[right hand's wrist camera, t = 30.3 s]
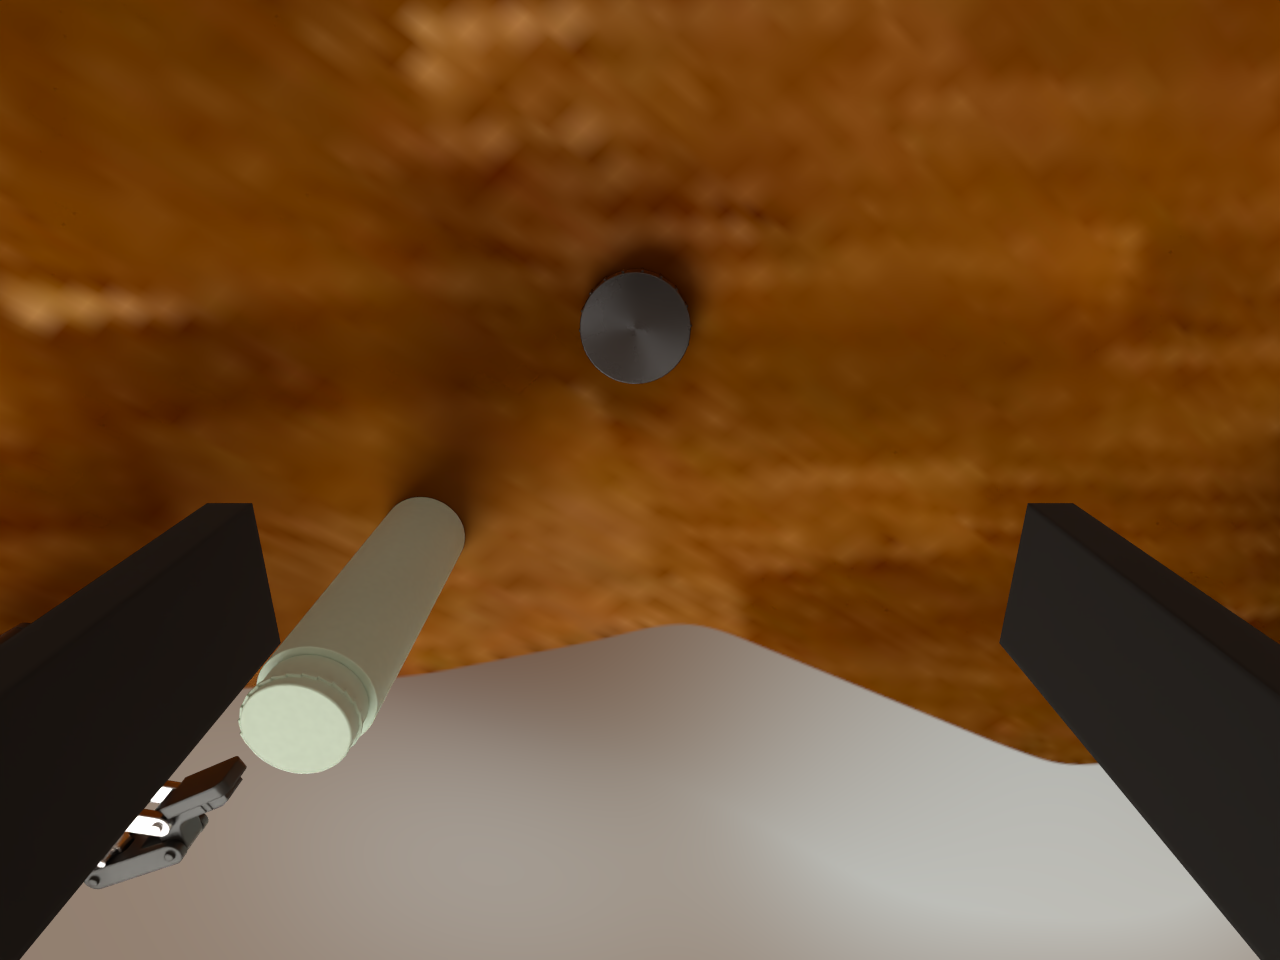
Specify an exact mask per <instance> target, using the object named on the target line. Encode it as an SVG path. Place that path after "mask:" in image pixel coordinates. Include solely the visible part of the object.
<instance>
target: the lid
mask: <svg viewBox="0 0 1280 960" xmlns="http://www.w3.org/2000/svg"><path fill="white" fill-rule="evenodd" d="M589 294H590V296H589V298H588V300H587V302H586V304H585V306H583V308H582V310H581V312H582V315H581V321H580V329H579V332H580V335H581V340H582V344H583V347H584V350H585V352H586V354H587V356H588V358H589V359H590V360H591V362H592V363H593V364H594V366H595V367H596V368H597V369H599V370H600V371H601V372H602V373H603V374H605V375H607V376H608V377H610V378H612V379H614V380H617V381H620V382H624V383H631V384H640V383H647V382H651V381H654V380H657V379H659V378H661V377H663V376H664V375H666V374H667V373H669V372H670V371H671V370H672V369H673V368H674V367H675V366H676V365H677V364H678V363H679V362H680V360H681V359H682V357H683V355H684V353H685V351H686V349H687V346H688V345H689V339H690V330H691V328H690V327H692V325H691V322H690V318H689V313H688V310H687V307H688V305H687V303H686V302H684V301H683V299H682V296H681V295H680V293H679V292H678V289H677V286H676V285H675V286H674V285H673V284H671V283H670V282H669V281H668V280H667V279H665V278H664V277H663V276H662V274H657V273H654V272H651V271H648V270H644V268H641V269H628V270H625V269H622V271H619V272H617V273H614V274H612V275H610V276H608V277H607V276H605V278H604V280H603V281H602V282H600V283H599V284H598V285H597V286H596V288H595V289H594V290H593V289H592V290H591V292H590V293H589Z"/></svg>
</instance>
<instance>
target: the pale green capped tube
mask: <svg viewBox="0 0 1280 960" xmlns="http://www.w3.org/2000/svg"><path fill="white" fill-rule="evenodd" d="M464 542H465V533H464V528H463V525H462V523H461V520H460V519H459V517H458V516H457V514H456V513H455V512H454V511H453V510H452V509H451V508H450V507H448V506H447V505H446V504H444V503H442V502H440V501H438V500H435V499H432V498H427V497H415V498H410V499H406V500H404V501H402V502H400V503H399V504H397V505H396V506H395V507H394V508H393V509H392V510H391V511H390V512H389V513H388V515H387V516H386V517H385V518H384V520H383V521H382V522H381V523H380V524H379V526H378V527H377V528H376V529H375V531H374V532H373V533H372V534H371V535H370V537H369V538H368V539H367V540H366V542H365V543H364V544H363V545H362V546H361V548H360V549H359V550H358V551H357V552H356V554H355V555H354V556H353V557H352V559H351V560H350V561H349V562H348V563H347V565H346V566H345V567H344V568H343V570H342V571H341V572H340V573H339V574H338V576H337V577H336V578H335V579H334V581H333V582H332V583H331V584H330V585H329V587H328V588H327V589H326V590H325V591H324V593H323V594H322V595H321V596H320V598H319V599H318V600H317V601H316V602H315V604H314V605H313V606H312V607H311V609H310V610H309V611H308V612H307V613H306V615H305V616H304V617H303V618H302V620H301V621H300V622H299V623H298V624H297V626H296V627H295V628H294V629H293V631H292V632H291V633H290V634H289V635H288V637H287V638H286V639H285V640H284V641H283V643H282V644H281V645H280V646H279V648H278V649H277V650H276V651H275V652H274V654H273V655H272V656H271V657H270V659H269V660H268V661H267V662H266V663H265V665H264V666H263V668H262V669H261V671H260V673H259V676H258V679H257V685H256V686H255V687H254V688H253V689H252V690H251V691H250V692H249V693H248V694H247V695H246V697H245V700H244V702H243V704H242V706H241V707H240V716H239V719H238V723H239V726H240V730H241V732H240V735H241V737H242V738H243V740H244V741H245V743H246V744H247V745H248V746H249V747H250V749H251V750H252V751H253V752H254V753H255V754H256V755H257V756H258V757H259V758H260V759H262V760H263V761H265V762H266V763H268V764H269V765H271V766H273V767H275V768H278V769H281V770H284V771H287V772H292V773H299V774H311V773H317V772H321V771H324V770H327V769H329V768H331V767H333V766H335V765H336V764H337V763H339V762H340V761H341V760H342V759H343V758H344V757H345V756H346V754H347V753H348V751H349V749H350V748H351V747H352V746H353V745H355V743H356V742H357V740H358V738H359V737H360V736H361V735H362V734H364V733H365V732H366V731H367V730H368V729H369V728H370V726H371V725H372V723H373V722H374V720H375V718H376V716H377V714H378V712H379V710H380V708H381V706H382V704H383V702H384V700H385V698H386V696H387V694H388V692H389V690H390V689H391V687H392V685H393V683H394V681H395V679H396V677H397V675H398V673H399V671H400V669H401V667H402V666H403V664H404V662H405V660H406V658H407V656H408V654H409V652H410V650H411V648H412V646H413V644H414V642H415V640H416V638H417V637H418V635H419V633H420V631H421V629H422V627H423V625H424V623H425V621H426V619H427V617H428V615H429V613H430V611H431V609H432V608H433V606H434V604H435V602H436V600H437V598H438V596H439V594H440V592H441V590H442V588H443V586H444V584H445V582H446V581H447V579H448V577H449V575H450V573H451V571H452V569H453V567H454V565H455V563H456V561H457V559H458V557H459V555H460V553H461V551H462V549H463V547H464Z"/></svg>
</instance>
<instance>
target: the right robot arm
mask: <svg viewBox="0 0 1280 960" xmlns="http://www.w3.org/2000/svg"><path fill="white" fill-rule="evenodd" d="M279 644H280V638H279V633H278V628H277V623H276V618H275V613H274V608H273V603H272V598H271V594H270V589H269V584H268V579H267V574H266V569H265V564H264V559H263V554H262V549H261V544H260V539H259V534H258V529H257V524H256V520H255V515H254V510H253V505H252V503H207V504H205V505H204V506H202V507H201V508H199V509H198V510H196V511H195V512H194V513H192V514H191V515H189V516H188V517H186V518H185V519H183V520H182V521H180V522H179V523H178V524H176V525H175V526H173V527H172V528H170V529H169V530H167V531H166V532H164V533H163V534H161V535H160V536H159V537H157V538H156V539H154V540H153V541H151V542H150V543H148V544H147V545H145V546H144V547H142V548H141V549H140V550H138V551H137V552H135V553H134V554H132V555H131V556H129V557H128V558H126V559H125V560H123V561H122V562H121V563H119V564H118V565H116V566H115V567H113V568H112V569H110V570H109V571H107V572H106V573H104V574H103V575H102V576H100V577H99V578H97V579H96V580H94V581H93V582H91V583H90V584H88V585H87V586H85V587H84V588H83V589H81V590H80V591H78V592H77V593H75V594H74V595H72V596H71V597H69V598H68V599H67V600H65V601H64V602H62V603H61V604H59V605H58V606H56V607H55V608H53V609H52V610H50V611H49V612H48V613H46V614H45V615H43V616H42V617H40V618H39V619H37V620H36V621H34V622H33V623H31V624H30V625H29V626H27V627H26V628H24V629H23V630H21V631H20V632H18V633H17V634H15V635H14V636H12V637H11V638H10V639H8V640H7V641H5V642H4V643H2V644H1V645H0V960H20V959H21V957H22V956H23V955H24V954H25V952H26V951H27V950H28V949H29V948H30V946H31V945H32V944H33V943H34V942H35V940H36V939H37V938H38V937H39V935H40V934H41V933H42V932H43V931H44V929H45V928H46V927H47V926H48V925H49V923H50V922H51V921H52V920H53V918H54V917H55V916H56V915H57V914H58V912H59V911H60V910H61V909H62V907H63V906H64V905H65V904H66V903H67V901H68V900H69V899H70V898H71V897H72V895H73V894H74V893H75V892H76V891H77V889H78V888H79V887H80V886H81V885H82V883H83V882H84V881H85V880H86V878H87V877H88V876H89V875H90V874H91V872H92V871H93V870H94V869H95V868H96V866H97V865H98V864H99V863H100V861H101V860H102V859H103V858H104V857H105V855H106V854H107V853H108V852H109V851H110V849H111V848H112V847H113V846H114V844H115V843H116V842H117V841H118V840H119V838H120V837H121V836H122V835H123V834H124V832H125V831H126V830H127V829H128V827H129V826H130V825H131V824H132V823H133V821H134V820H135V819H136V818H137V817H138V815H139V814H140V813H141V812H142V810H143V809H144V808H145V807H146V806H147V804H148V803H149V802H150V801H151V800H152V798H153V797H154V796H155V795H156V794H157V792H158V791H159V790H160V789H161V787H162V786H163V785H164V784H165V783H166V781H167V780H168V779H169V778H170V776H171V775H172V774H173V773H174V772H175V770H176V769H177V768H178V767H179V766H180V764H181V763H182V762H183V761H184V760H185V758H186V757H187V756H188V755H189V753H190V752H191V751H192V750H193V749H194V747H195V746H196V745H197V744H198V743H199V741H200V740H201V739H202V738H203V736H204V735H205V734H206V733H207V732H208V730H209V729H210V728H211V727H212V725H213V724H214V723H215V722H216V721H217V719H218V718H219V717H220V716H221V715H222V713H223V712H224V711H225V710H226V709H227V707H228V706H229V705H230V704H231V702H232V701H233V700H234V699H235V698H236V696H237V695H238V694H239V693H240V692H241V690H242V689H243V688H244V687H245V686H246V684H247V683H248V682H249V681H250V679H251V678H252V677H253V676H254V675H255V673H256V672H257V671H258V670H259V669H260V667H261V666H262V665H263V664H264V662H265V661H266V660H267V659H268V658H269V656H270V655H271V654H272V653H273V652H274V650H275V649H276V648H277V647H278V645H279ZM1000 644H1001V645H1002V647H1003V648H1004V649H1005V650H1006V652H1007V653H1008V654H1009V655H1010V656H1011V658H1012V659H1013V660H1014V661H1015V662H1016V664H1017V665H1018V666H1019V667H1020V669H1021V670H1022V671H1023V672H1024V673H1025V675H1026V676H1027V677H1028V678H1029V679H1030V681H1031V682H1032V683H1033V684H1034V686H1035V687H1036V688H1037V689H1038V690H1039V692H1040V693H1041V694H1042V695H1043V696H1044V698H1045V699H1046V700H1047V701H1048V702H1049V704H1050V705H1051V706H1052V707H1053V709H1054V710H1055V711H1056V712H1057V713H1058V715H1059V716H1060V717H1061V718H1062V719H1063V721H1064V722H1065V723H1066V724H1067V726H1068V727H1069V728H1070V729H1071V730H1072V732H1073V733H1074V734H1075V735H1076V736H1077V738H1078V739H1079V740H1080V741H1081V743H1082V744H1083V745H1084V746H1085V747H1086V749H1087V750H1088V751H1089V752H1090V753H1091V755H1092V756H1093V757H1094V758H1095V760H1096V761H1097V762H1098V763H1099V764H1100V766H1101V767H1102V768H1103V769H1104V770H1105V772H1106V773H1107V774H1108V775H1109V777H1110V778H1111V779H1112V780H1113V781H1114V783H1115V784H1116V785H1117V786H1118V787H1119V789H1120V790H1121V791H1122V792H1123V793H1124V795H1125V796H1126V797H1127V798H1128V800H1129V801H1130V802H1131V803H1132V804H1133V806H1134V807H1135V808H1136V809H1137V810H1138V812H1139V813H1140V814H1141V815H1142V817H1143V818H1144V819H1145V820H1146V821H1147V823H1148V824H1149V825H1150V826H1151V827H1152V829H1153V830H1154V831H1155V832H1156V834H1157V835H1158V836H1159V837H1160V838H1161V840H1162V841H1163V842H1164V843H1165V844H1166V846H1167V847H1168V848H1169V849H1170V851H1171V852H1172V853H1173V854H1174V855H1175V857H1176V858H1177V859H1178V860H1179V861H1180V863H1181V864H1182V865H1183V866H1184V868H1185V869H1186V870H1187V871H1188V872H1189V874H1190V875H1191V876H1192V877H1193V878H1194V880H1195V881H1196V882H1197V883H1198V884H1199V886H1200V887H1201V888H1202V889H1203V891H1204V892H1205V893H1206V894H1207V895H1208V897H1209V898H1210V899H1211V900H1212V901H1213V903H1214V904H1215V905H1216V906H1217V908H1218V909H1219V910H1220V911H1221V912H1222V914H1223V915H1224V916H1225V917H1226V918H1227V920H1228V921H1229V922H1230V923H1231V925H1232V926H1233V927H1234V928H1235V929H1236V931H1237V932H1238V933H1239V934H1240V935H1241V937H1242V938H1243V939H1244V940H1245V941H1246V943H1247V944H1248V945H1249V946H1250V948H1251V949H1252V950H1253V951H1254V952H1255V954H1256V955H1257V956H1258V957H1259V959H1260V960H1280V645H1279V644H1278V643H1276V642H1275V641H1273V640H1272V639H1270V638H1269V637H1268V636H1266V635H1265V634H1263V633H1262V632H1260V631H1259V630H1257V629H1256V628H1254V627H1253V626H1251V625H1250V624H1249V623H1247V622H1246V621H1244V620H1243V619H1241V618H1240V617H1238V616H1237V615H1235V614H1234V613H1232V612H1231V611H1230V610H1228V609H1227V608H1225V607H1224V606H1222V605H1221V604H1219V603H1218V602H1216V601H1215V600H1213V599H1212V598H1211V597H1209V596H1208V595H1206V594H1205V593H1203V592H1202V591H1200V590H1199V589H1197V588H1196V587H1195V586H1193V585H1192V584H1190V583H1189V582H1187V581H1186V580H1184V579H1183V578H1181V577H1180V576H1178V575H1177V574H1176V573H1174V572H1173V571H1171V570H1170V569H1168V568H1167V567H1165V566H1164V565H1162V564H1161V563H1159V562H1158V561H1157V560H1155V559H1154V558H1152V557H1151V556H1149V555H1148V554H1146V553H1145V552H1143V551H1142V550H1140V549H1139V548H1138V547H1136V546H1135V545H1133V544H1132V543H1130V542H1129V541H1127V540H1126V539H1124V538H1123V537H1121V536H1120V535H1119V534H1117V533H1116V532H1114V531H1113V530H1111V529H1110V528H1108V527H1107V526H1105V525H1104V524H1102V523H1101V522H1100V521H1098V520H1097V519H1095V518H1094V517H1092V516H1091V515H1089V514H1088V513H1086V512H1085V511H1084V510H1082V509H1081V508H1079V507H1078V506H1076V505H1075V504H1073V503H1028V505H1027V510H1026V515H1025V520H1024V524H1023V529H1022V534H1021V539H1020V544H1019V549H1018V554H1017V559H1016V564H1015V569H1014V574H1013V579H1012V584H1011V589H1010V594H1009V598H1008V603H1007V608H1006V613H1005V618H1004V623H1003V628H1002V633H1001V638H1000Z"/></svg>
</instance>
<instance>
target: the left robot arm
mask: <svg viewBox="0 0 1280 960" xmlns="http://www.w3.org/2000/svg"><path fill="white" fill-rule="evenodd" d="M29 625H30V623H21V624H19V625H17V626H16V627H14V628H12V629H10V630H9V631H7V632H5V633H4V634H2V635H0V645H1V644H2V643H4V642H5V641H7V640H8V639H10V638H11V637H12V636H14V635H15V634H17V633H18V632H20V631H21V630H23V629H24V628H26V627H27V626H29ZM245 769H246V765H245V764H244V763H243V761H242V760H241V759H240V758H239V757H238V756H235V757H233V758H230V759H228V760H226V761H223V762H221V763H219V764H216V765H214V766H211V767H209V768H207V769H204V770H202V771H200V772H197V773H195V774H192V775H190V776H188V777H186V778H185V779H184V780H183V781H182V782H175V781H169V780H167V781H166V783H165V784H164V785H163V786H162V787H161V789H160V790H159V791H158V792H157V794H156V795H155V796H154V797H153V798H152V800H151V801H150V802H155V803H160V804H159V806H158V807H157V808H156V809H155V810H148V809H143V810H142V812H141V813H140V814H139V815H138V817H137V818H136V819H135V820H134V821H133V823H132V824H131V825H130V826H129V827H128V829H127V830H126V831H125V832H124V834H123V835H122V836H121V837H120V838H119V840H118V841H117V842H116V843H115V844H114V846H113V847H112V848H111V849H110V851H109V852H108V853H107V854H106V855H105V857H104V858H103V859H102V860H101V861H100V863H99V864H98V865H97V866H96V868H95V869H94V870H93V871H92V872H91V874H90V875H89V876H88V877H87V878H86V880H85V881H84V883H85V884H86V885H87V886H89V887H91V888H94V889H101V888H105V887H108V886H111V885H114V884H117V883H120V882H123V881H126V880H129V879H132V878H135V877H138V876H141V875H144V874H147V873H150V872H153V871H156V870H159V869H162V868H165V867H168V866H171V865H175V864H177V863H179V862H180V861H181V860H182V859H183V857H184V856H185V854H186V853H187V850H188V849H189V847H190V846H191V845H192V843H193V842H194V840H195V839H196V838H197V836H198V835H199V833H200V832H202V831H203V829H204V828H205V826H206V825H207V823H208V817H207V816H206V815H205V814H204V813H206V812H209V811H211V810H213V809H216V808H218V807H221V806H223V805H224V804H225V803H226V802H227V801H228V799H229V798H230V797H231V795H232V794H233V792H234V791H235V789H236V788H237V787H238V785H239V784H240V782H241V781H242V778H241V777H240V776H241V775H242V774H243V772H244V771H245Z"/></svg>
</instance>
